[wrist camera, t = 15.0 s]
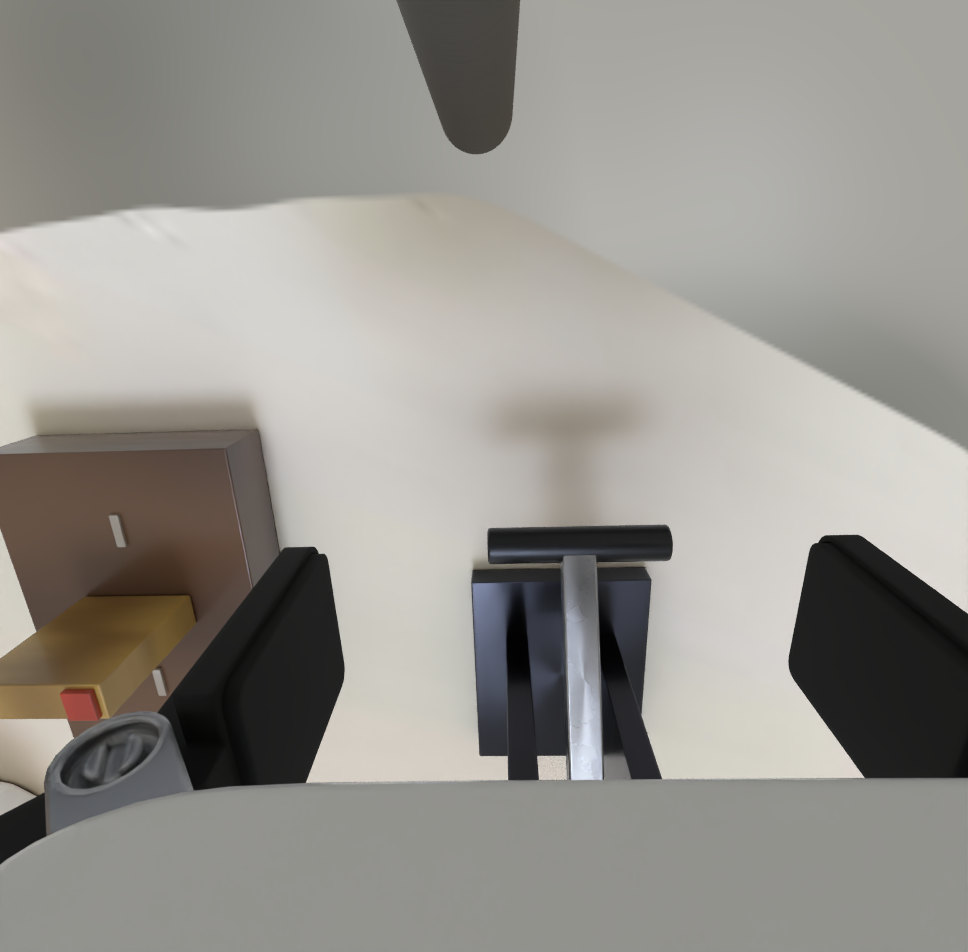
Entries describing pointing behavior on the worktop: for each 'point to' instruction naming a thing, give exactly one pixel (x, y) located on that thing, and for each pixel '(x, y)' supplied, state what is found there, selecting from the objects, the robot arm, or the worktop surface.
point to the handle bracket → (558, 668)
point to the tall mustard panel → (91, 657)
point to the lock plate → (139, 530)
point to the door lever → (581, 614)
